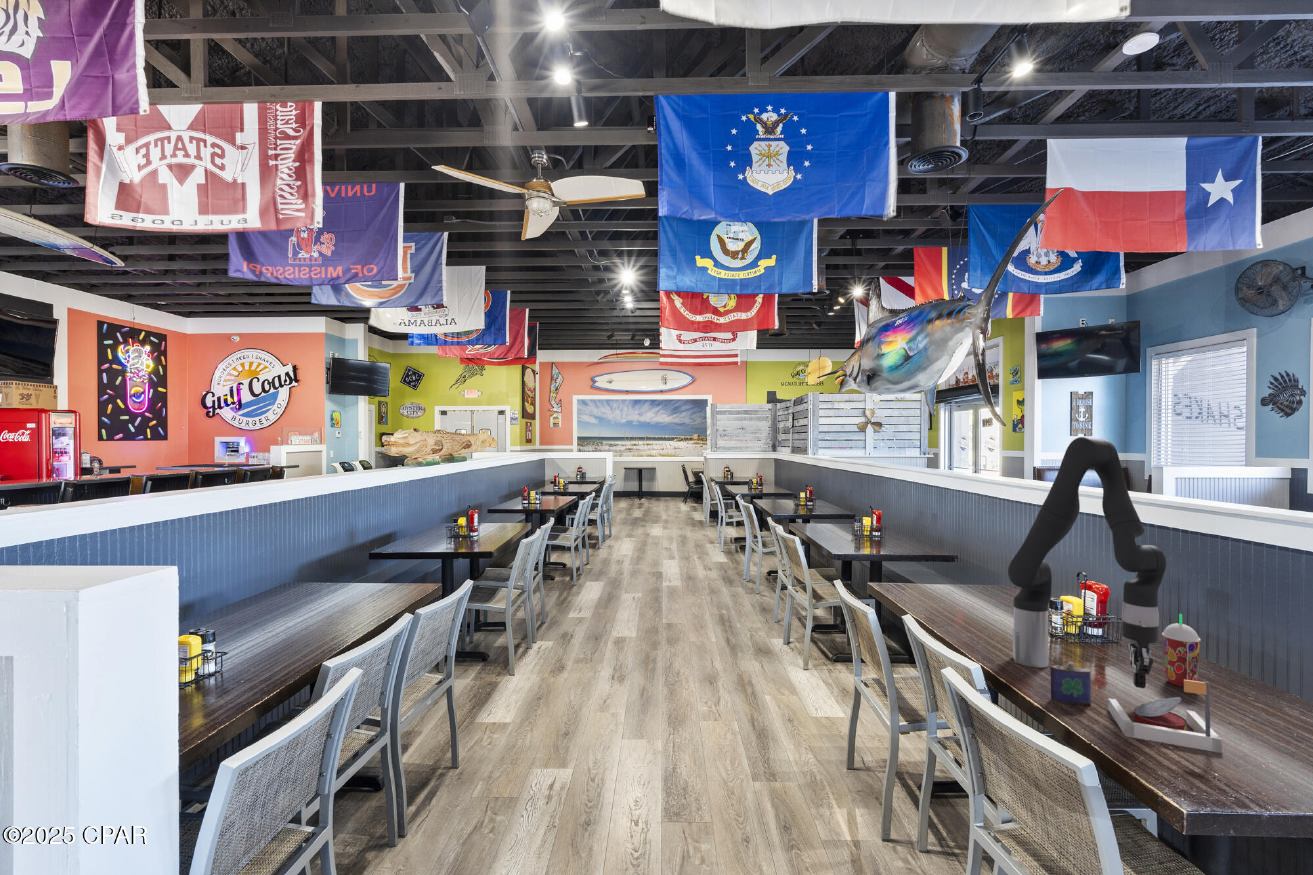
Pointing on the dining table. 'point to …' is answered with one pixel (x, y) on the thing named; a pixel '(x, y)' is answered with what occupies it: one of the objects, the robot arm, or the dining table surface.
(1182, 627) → the smoothie
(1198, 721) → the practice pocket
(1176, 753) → the dining table surface
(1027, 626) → the robot arm
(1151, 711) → the canned food
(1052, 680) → the flask
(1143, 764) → the dining table surface
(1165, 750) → the dining table surface
